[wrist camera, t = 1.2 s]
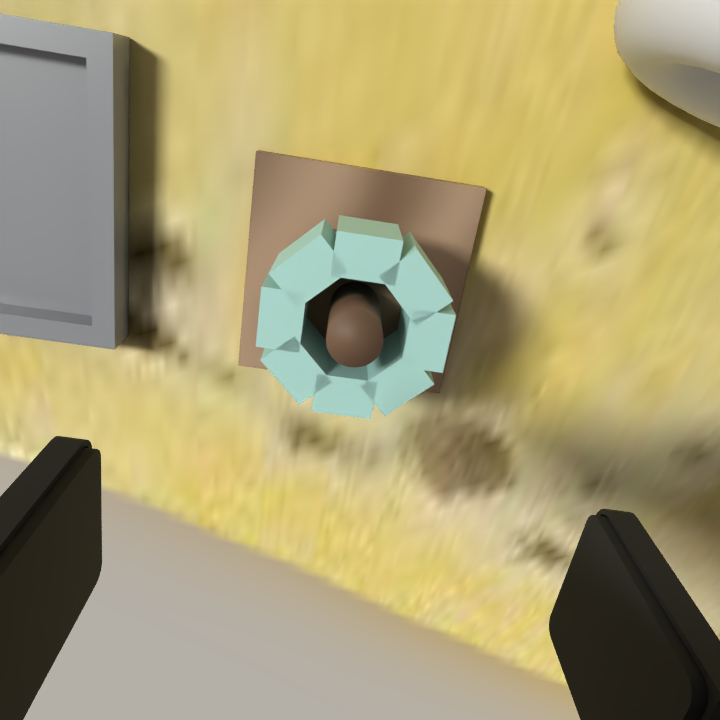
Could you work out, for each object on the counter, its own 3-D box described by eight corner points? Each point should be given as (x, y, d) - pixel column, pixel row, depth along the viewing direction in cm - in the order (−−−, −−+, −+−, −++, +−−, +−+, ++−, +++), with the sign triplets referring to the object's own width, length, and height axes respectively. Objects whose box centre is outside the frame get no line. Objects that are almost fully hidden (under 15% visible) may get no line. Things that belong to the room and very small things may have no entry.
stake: (483, 186, 27) (532, 219, 19) (437, 387, 31) (463, 478, 23) (258, 150, 26) (219, 170, 19) (240, 360, 30) (202, 445, 23)
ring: (457, 233, 23) (470, 251, 21) (422, 392, 26) (430, 427, 23) (278, 205, 23) (267, 219, 20) (261, 370, 26) (250, 402, 23)
